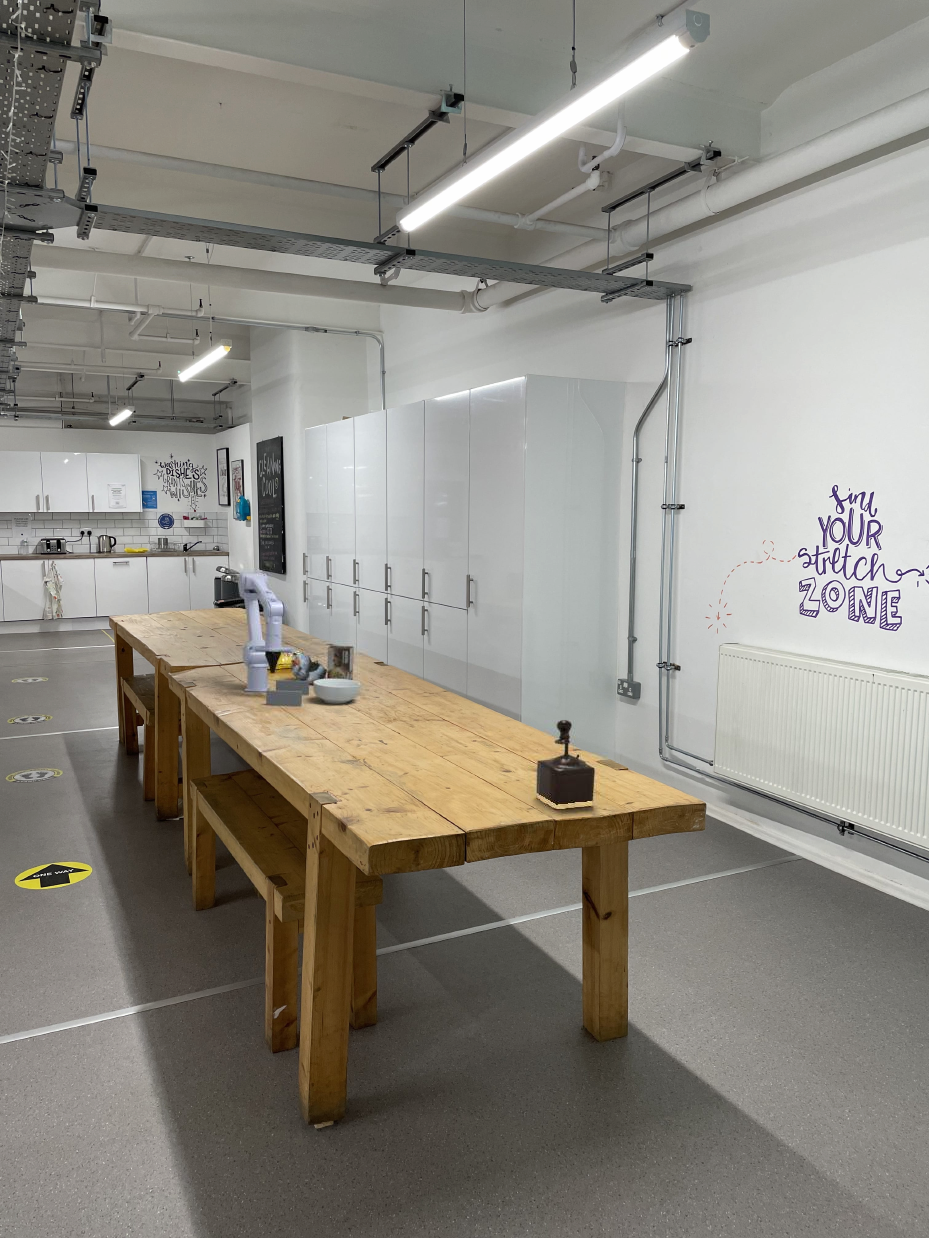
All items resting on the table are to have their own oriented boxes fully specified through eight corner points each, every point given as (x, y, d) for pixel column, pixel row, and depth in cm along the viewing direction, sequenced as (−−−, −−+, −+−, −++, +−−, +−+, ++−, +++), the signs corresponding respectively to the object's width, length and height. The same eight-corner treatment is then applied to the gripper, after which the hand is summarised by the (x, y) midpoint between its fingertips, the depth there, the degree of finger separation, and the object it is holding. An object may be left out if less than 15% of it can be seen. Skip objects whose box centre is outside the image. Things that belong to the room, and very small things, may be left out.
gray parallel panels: (276, 693, 325) (276, 679, 325) (308, 694, 326) (309, 681, 326) (266, 705, 304) (266, 690, 304) (301, 706, 305) (301, 692, 304)
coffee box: (353, 687, 345) (354, 646, 343) (349, 690, 338) (350, 648, 337) (330, 685, 345) (331, 644, 344) (326, 688, 339) (327, 647, 337)
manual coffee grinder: (596, 806, 208) (601, 732, 207) (555, 810, 204) (559, 734, 202) (563, 787, 223) (568, 717, 221) (524, 791, 218) (528, 719, 216)
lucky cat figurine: (324, 685, 344) (308, 655, 339) (296, 695, 346) (280, 666, 341) (331, 669, 358) (316, 639, 353) (304, 678, 360) (289, 649, 355)
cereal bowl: (349, 708, 306) (350, 688, 305) (305, 703, 309) (305, 684, 309) (366, 699, 322) (367, 680, 321) (324, 695, 326) (324, 676, 325)
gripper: (251, 635, 309) (250, 673, 311) (292, 637, 310) (291, 675, 312) (254, 633, 316) (253, 670, 318) (295, 634, 317) (294, 671, 319)
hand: (272, 672), depth 315 cm, fingers closed
